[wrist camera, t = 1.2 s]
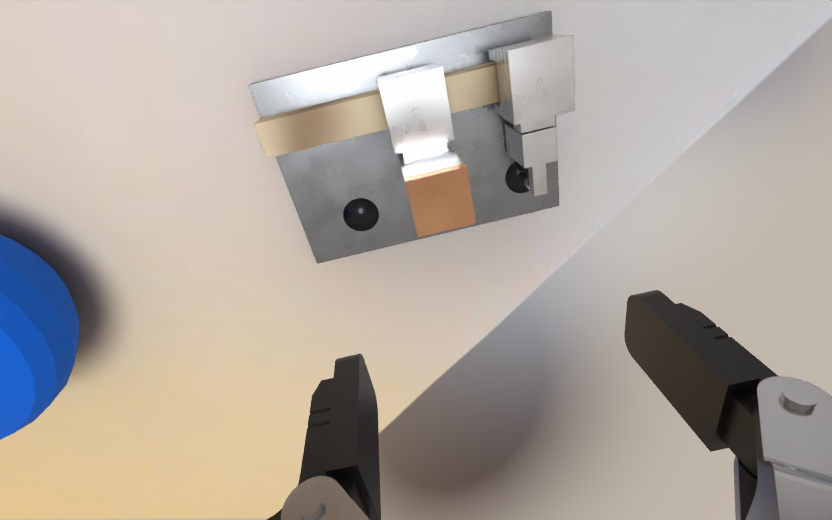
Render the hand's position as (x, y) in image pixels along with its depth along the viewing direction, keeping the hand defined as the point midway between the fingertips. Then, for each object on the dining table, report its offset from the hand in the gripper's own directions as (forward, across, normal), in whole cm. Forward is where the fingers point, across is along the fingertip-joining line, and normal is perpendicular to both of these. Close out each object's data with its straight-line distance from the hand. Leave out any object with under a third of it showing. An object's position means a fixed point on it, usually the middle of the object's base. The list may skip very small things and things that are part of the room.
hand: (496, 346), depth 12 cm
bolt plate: (+24, 0, 0) cm, 24 cm away
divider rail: (+23, 0, -4) cm, 24 cm away
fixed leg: (+23, -8, -1) cm, 24 cm away
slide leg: (+23, 0, -1) cm, 23 cm away
